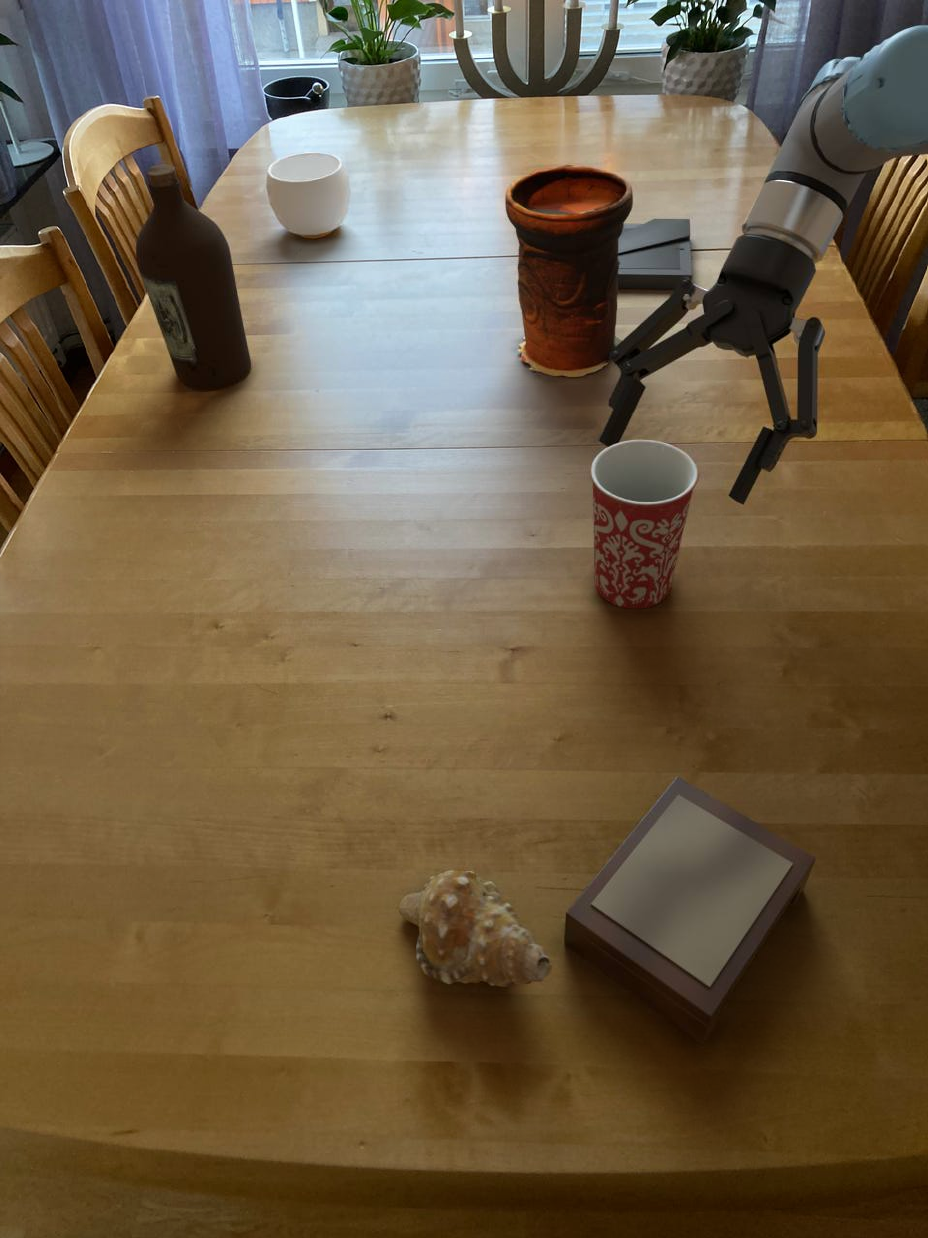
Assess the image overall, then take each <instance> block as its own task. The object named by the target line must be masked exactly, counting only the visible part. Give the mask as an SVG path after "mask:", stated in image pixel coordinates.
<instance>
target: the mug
mask: <svg viewBox="0 0 928 1238" xmlns="http://www.w3.org/2000/svg"><path fill="white" fill-rule="evenodd" d="M698 469H699V468H698V466H697V464H696V462H695V461H694V459H693V458H692V457H691V456H690V455H689V454H688V453H687V452H685V451H684V450H682V449H681V448H679V447H678V446H677V445H676V444H674V443H669V442H664V441H658V440H652V439H651V440H650V439H630V440H625V441H620V442H619V443H617V444H614V445H612V446H609V447H606V448H604V449H603V450H602V451H600V452H599V453H598V454H597V455H596V456H595V457H594V459H593V461H592V463H591V465H590V478H591V482H592V506H593V507H592V515H593V516H592V517H593V576H594V585H595V588H596V590H597V592H598V593H599V595H600V596H601V597H602V598H603V599H604V600H606V602H609V603H610V604H612V605H614V606H616V607H619V608H626V609H631V610H638V609H647V608H651V607H653V606H656V605H657V604H659V603H661V602H662V601H663V600H664V599H666V598H667V596H668V594H669V593H670V591H671V588H672V584H673V580H674V575H675V569H676V567H677V566H676V565H677V562H678V557H679V553H680V548H681V543H682V539H683V533H684V530H685V526H686V522H687V519H688V518H687V517H688V514H689V508H690V505H691V500H692V497H693V496H692V495H693V491H694V489H695V487H696V485H697V484H698V481H699V470H698Z"/></svg>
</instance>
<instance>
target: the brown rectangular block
mask: <svg viewBox="0 0 928 1238" xmlns="http://www.w3.org/2000/svg"><path fill="white" fill-rule="evenodd" d="M815 862H816V857H815V856H813V855H811V854H810V853H808V852H807V851H806V850H803V849H802V848H800V847H798V846H796V845H795V844H793V843H791V842H790V841H789V840H786V839H785V838H783V837H782V836H780V835H778V834H777V833H774V832H773V831H772V830H770V829H768V828H766V827H765V826H763V825H761V824H760V823H757V822H756V821H754V820H753V819H752V818H749V817H747V816H746V815H744V814H742V813H740V812H739V811H738V810H736V809H734V808H732V807H731V806H729V805H728V804H725V803H724V802H722V801H721V800H719V799H717V798H716V797H714V796H712V795H710V794H709V793H707V792H706V791H703V790H702V789H700V787H699V788H698V787H697V786H695V785H694V784H692V783H690V782H688V781H687V780H685V779H683V778H681V776H677V775H676V776H675V778H674V779H673V781H671V783H670V784H669V785H668V787H666V789H665V790H664V791H663V793H661V795H660V797H659V798H658V799H657V800H656V801H655V802H654V804H653V805H652V806H651V808H650V809H649V810H648V811H647V812H646V814H645V815H644V816H643V817H642V818H641V820H640V821H638V823H637V825H635V827H634V829H633V830H632V831H630V833H629V834H628V836H627V837H626V838H625V840H624V841H623V842H622V843H621V844H620V845H619V846H618V848H617V849H616V851H615V852H614V853H613V854H612V855H611V856H610V858H609V859H607V861H606V862H605V864H604V865H603V866H602V868H601V869H600V870H599V871H598V873H597V874H596V875H595V876H594V878H593V879H592V880H591V881H590V882H589V883H588V885H587V886H586V887H585V888H584V890H583V891H582V892H581V893H580V895H579V896H578V897H577V899H576V900H574V902H573V903H572V904H571V905H570V907H569V908H568V909H567V910H566V912H565V920H564V921H565V923H564V939H563V944H564V945H566V946H567V947H568V948H570V949H571V950H572V951H574V952H575V953H577V954H578V955H579V956H581V958H583V959H585V960H586V961H588V962H589V963H590V964H592V965H593V966H594V967H595V968H597V969H598V970H600V971H601V972H602V973H603V974H605V975H606V976H608V977H609V978H611V979H612V980H614V981H615V982H616V983H617V984H619V985H620V986H621V987H622V988H624V989H625V990H627V991H628V992H629V993H631V994H633V996H635V997H637V999H639V1000H640V1001H642V1002H643V1003H645V1004H646V1005H647V1006H649V1007H650V1008H651V1009H653V1010H654V1011H656V1012H657V1013H658V1014H659V1015H661V1016H662V1017H663V1018H665V1019H666V1020H667V1021H669V1022H670V1023H672V1024H673V1025H674V1026H676V1027H677V1028H678V1029H680V1030H682V1031H683V1032H684V1033H686V1034H687V1035H688V1036H690V1037H691V1038H692V1039H694V1041H696V1042H697V1043H699V1044H700V1045H704V1043H705V1042H706V1041H707V1039H708V1038H709V1036H710V1034H711V1032H712V1031H713V1030H714V1028H715V1026H716V1024H717V1021H718V1017H719V1015H720V1012H721V1008H722V1006H723V1005H724V1004H725V1002H726V1001H727V999H728V998H729V996H730V995H731V993H732V991H733V990H734V989H735V987H736V986H737V984H738V982H739V980H740V979H741V977H742V976H743V975H744V973H745V971H746V970H747V969H748V967H749V965H750V964H751V963H752V961H753V959H754V958H755V956H756V955H757V954H758V952H759V950H760V949H761V947H762V946H763V944H764V943H765V941H766V940H767V938H768V936H770V934H771V932H772V930H773V929H774V928H775V927H776V924H778V921H779V920H780V918H781V916H782V915H783V914H784V912H785V911H786V909H787V908H788V906H789V905H791V906H794V905H795V904H796V902H797V901H798V899H799V898H800V896H801V894H802V893H803V891H804V889H805V887H806V885H807V882H808V879H809V878H810V875H811V872H812V869H813V867H814V865H815Z"/></svg>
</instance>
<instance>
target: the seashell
mask: <svg viewBox="0 0 928 1238" xmlns="http://www.w3.org/2000/svg"><path fill="white" fill-rule="evenodd" d="M398 912H399V914H400V916H401V917H402V918H403V920H405V921H406V922H409V923H411V924H413V925H414V926H416V927H418V931H419V934H418V937H417V940H416V949H415V956H416V962H417V964H419V966H420V968H421V969H422V972H423V973H424V974H425V975H426V976H429V977H431V978H433V979H435V980H438V981H440V982H442V983H445V984H447V985H451V984H453V983H454V982H456V983H457V982H459V983H460V982H461V983H462V984H466V985H467V984H468V983H472V984H478V983H480V982H486V983H487V984H489V985H490V986H491V987H492V986H493V987H494V986H497V987H502V988H503V987H504V988H507V987H510V986H511V985H513V984H516V985H528V984H531V983H539V982H543V981H544V980H545V979H547V977H548V976H549V975H550V974H551V972H552V969H553V962H552V960H551V959H550V957H549V956H547V954H546V952H545V949H544V948H543V947H542V945H540V944H537V943H536V941H535V938H534V935H533V933H532V932H531V931H529V930H528V929H526V928H524V927H522V924H521V921H520V920H519V918H518V915H517V913H516V911H515V909H514V908H513V906H512V905H511V904H510V903H508V902H506V901H503V900H501V896H500V894H499V890H498V889H497V886H496V884H495V883H494V882H493V881H489V880H487V879H485V878H483V877H480V876H477V875H476V873H475V871H472V870H466V871H465V870H464V871H457V870H453V869H451V870H448V871H444V872H442V873H439V874H438V875H433V876H430V877H429V878H428V880H427V882H426V883H425V884H424V885H423V887H422V890H421V891H419V892H412V893H411V892H410V893H407V894H406V895H405V896H404V897H403V898H402V900H401V901H400V904H399V907H398Z"/></svg>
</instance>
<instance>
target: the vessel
mask: <svg viewBox="0 0 928 1238" xmlns="http://www.w3.org/2000/svg"><path fill="white" fill-rule="evenodd" d="M633 193H634V192H633V187H632V185H631V184H630V183H629V181H627V180H626V179H625V178H623V177H622V176H620V175H618V174H617V173H614V172H610V171H607V170H603V169H599V168H596V167H592V166H585V165H572V164H571V165H570V164H567V165H566V164H565V165H559V166H558V165H557V166H552V167H549V168H545V169H540V170H534V171H533V172H530V173H529V174H526V175H523V176H520V177H519V178H517V179H515V180H514V181H513V182H511V184H510V185H509V186H508V187H507V189H506V193H505V197H504V200H505V201H504V202H505V203H504V204H505V212H506V215H507V218H508V221H509V222H510V223H511V225H512V226H513V227H514V229H515V234H516V238H517V241H518V254H517V255H518V260H517V276H518V278H517V290H518V302H519V307H520V311H521V317H522V325H523V332H524V336H523V337H522V339H523V340H524V341H523V342H521V343H519V344H518V345H519V347H520V348H518V349H517V352H518V353H521V355H520V358H521V360H522V361H523V363H526V364H528V365H530V367H528V369H529V370H531V371H534V372H541V373H542V374H546V375H549V376H553V377H558V376H559V377H560V376H565V377H567V378H577V377H584V376H585V375H587V374H592V373H595V372H597V371H599V370H601V369H603V368H604V366H607V365H608V364H609V361H611V360H610V358H609V354H610V352H611V351H612V350H613V349H614V348H615V347H616V346H617V345H618V344H619V343H620V342H621V341H623V339H621V338H618V337H617V336H616V326H617V312H618V294H619V289H618V270H619V262H618V240H619V237H620V236H621V233H622V230H623V227H624V223H625V222H626V220H627V219H628V218H629V216H630V214H631V212H632V211H633V210H632V209H633V206H634V205H633V204H634V195H633Z"/></svg>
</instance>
